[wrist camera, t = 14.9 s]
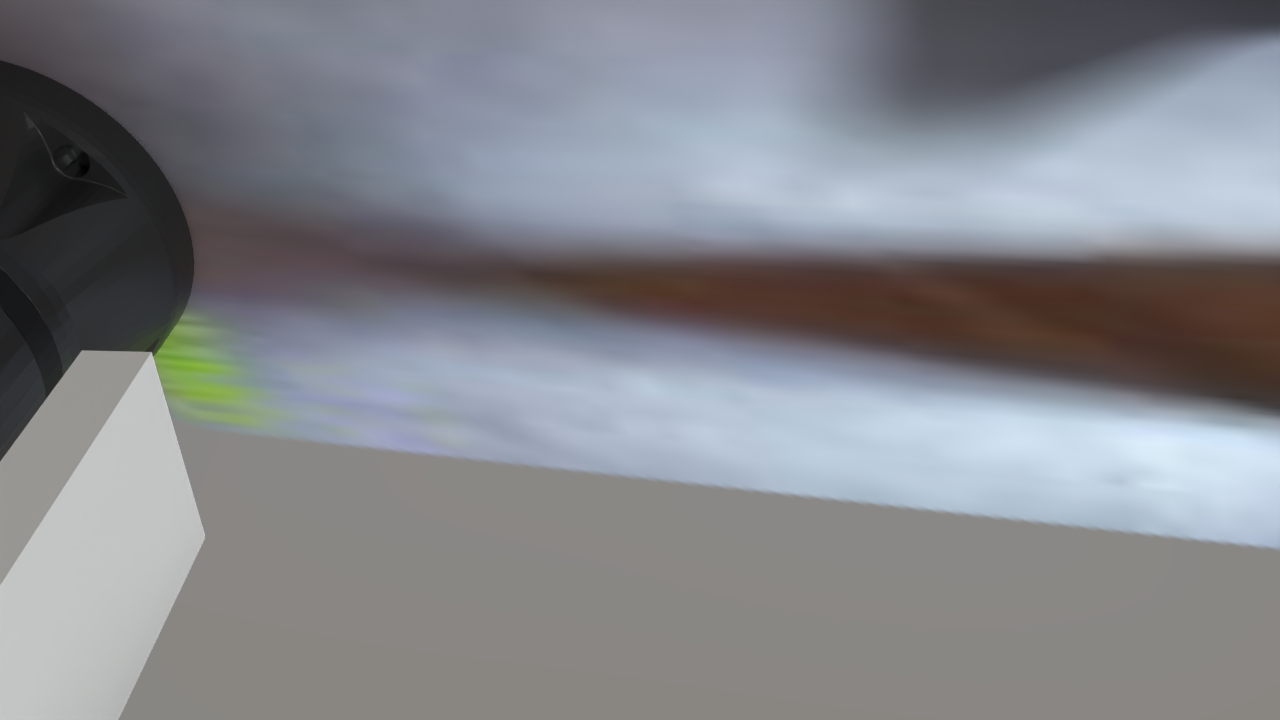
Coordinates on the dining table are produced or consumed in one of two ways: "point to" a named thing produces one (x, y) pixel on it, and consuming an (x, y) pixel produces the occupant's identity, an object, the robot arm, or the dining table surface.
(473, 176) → the dining table surface
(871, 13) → the dining table surface
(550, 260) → the dining table surface
